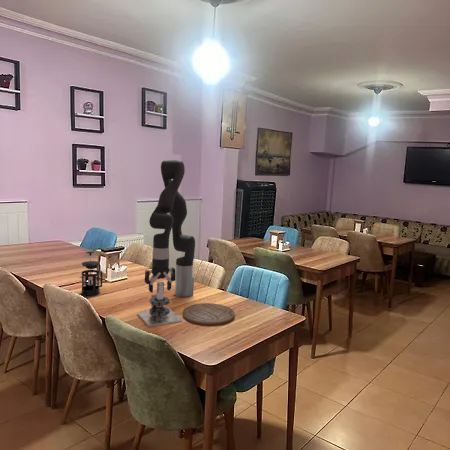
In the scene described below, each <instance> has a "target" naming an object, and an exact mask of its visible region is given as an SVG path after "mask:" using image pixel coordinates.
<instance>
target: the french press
mask: <svg viewBox="0 0 450 450" xmlns="http://www.w3.org/2000/svg"><path fill="white" fill-rule="evenodd" d="M86 254H89V260H87V261H82V262H81V265H82V267H85V268H86V270H82V271H81V294H80V295H82V296H83V297H90V298H91V297H96V296H98V295H100V288H101V287H103V270H100V269H99V270H97V269H98V268H99V265H100V262H99V261H95V260H92V254H95V252H94V251H87V252H86ZM84 279H85V280H84Z"/></svg>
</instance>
